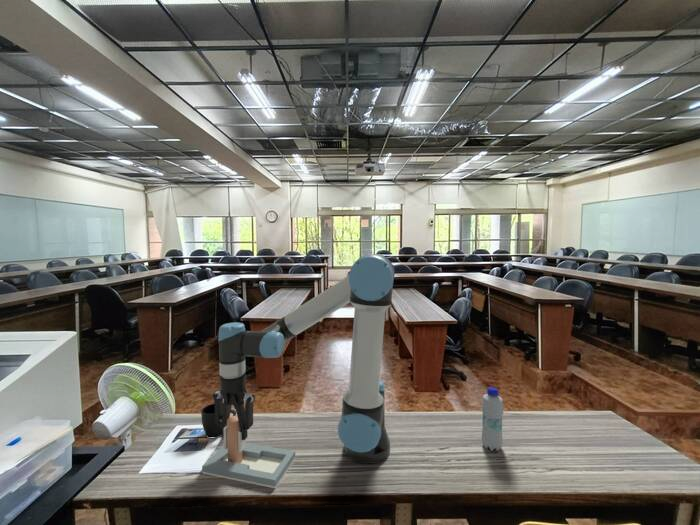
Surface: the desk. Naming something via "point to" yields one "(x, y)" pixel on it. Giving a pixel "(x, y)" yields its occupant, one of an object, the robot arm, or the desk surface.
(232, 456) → the peg
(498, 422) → the bottle
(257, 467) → the keyhole board
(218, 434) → the mug
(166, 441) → the desk surface
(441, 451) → the desk surface
